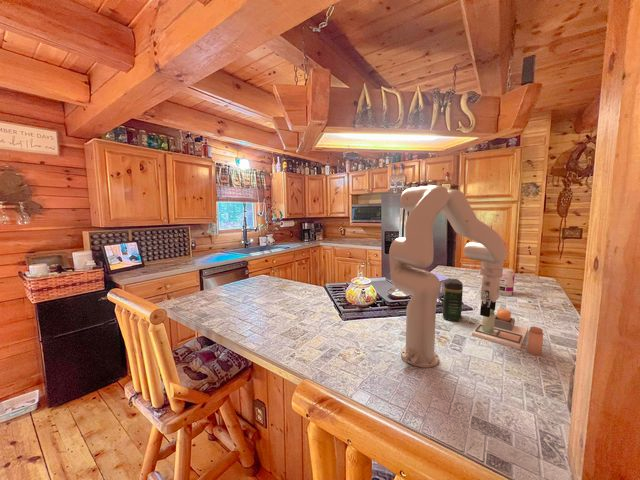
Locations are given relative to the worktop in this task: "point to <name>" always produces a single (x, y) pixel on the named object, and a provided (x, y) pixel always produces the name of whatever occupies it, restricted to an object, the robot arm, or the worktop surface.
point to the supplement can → (507, 282)
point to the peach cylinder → (535, 341)
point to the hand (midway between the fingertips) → (487, 312)
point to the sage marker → (488, 322)
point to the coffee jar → (452, 299)
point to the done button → (503, 315)
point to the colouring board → (503, 333)
